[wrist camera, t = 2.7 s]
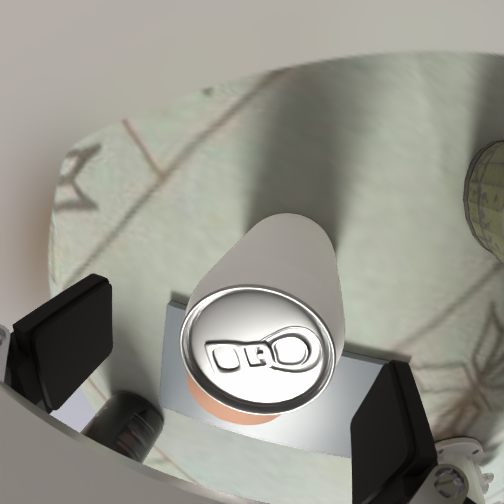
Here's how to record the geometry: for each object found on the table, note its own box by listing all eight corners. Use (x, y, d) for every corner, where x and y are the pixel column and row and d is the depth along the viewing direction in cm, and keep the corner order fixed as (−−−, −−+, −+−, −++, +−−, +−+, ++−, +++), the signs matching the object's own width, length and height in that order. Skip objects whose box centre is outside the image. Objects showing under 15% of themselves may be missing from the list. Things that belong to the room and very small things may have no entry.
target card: (408, 365, 22) (410, 372, 21) (351, 452, 26) (352, 459, 25) (171, 300, 25) (166, 305, 24) (162, 400, 28) (158, 406, 27)
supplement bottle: (106, 382, 30) (42, 451, 18) (160, 399, 28) (102, 484, 17) (119, 423, 32) (68, 489, 20) (168, 439, 30) (124, 517, 19)
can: (341, 292, 22) (355, 414, 10) (254, 307, 23) (200, 423, 12) (324, 202, 20) (333, 254, 9) (232, 222, 22) (143, 288, 11)
